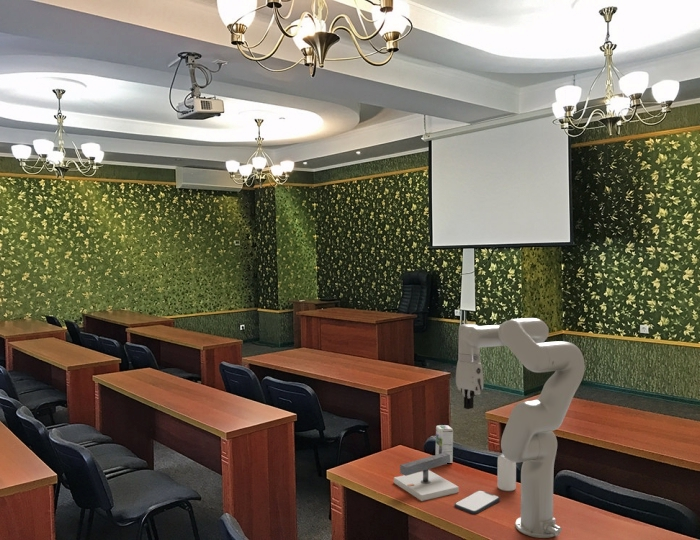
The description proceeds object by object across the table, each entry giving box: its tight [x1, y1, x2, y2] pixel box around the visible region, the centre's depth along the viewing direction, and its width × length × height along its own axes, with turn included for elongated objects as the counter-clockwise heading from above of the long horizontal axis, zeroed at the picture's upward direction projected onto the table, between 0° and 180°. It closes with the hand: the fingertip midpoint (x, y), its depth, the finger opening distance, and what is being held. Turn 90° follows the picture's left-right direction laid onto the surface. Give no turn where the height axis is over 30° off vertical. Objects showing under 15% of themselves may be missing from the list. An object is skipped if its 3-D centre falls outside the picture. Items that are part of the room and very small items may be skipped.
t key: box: [399, 453, 450, 483], centre depth 206 cm, size 22×3×8 cm, turn 126°
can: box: [497, 452, 517, 492], centre depth 206 cm, size 6×6×12 cm
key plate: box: [393, 469, 460, 502], centre depth 206 cm, size 18×16×2 cm
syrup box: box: [435, 424, 454, 464], centre depth 233 cm, size 6×6×14 cm
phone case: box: [454, 490, 501, 515], centre depth 193 cm, size 9×2×16 cm
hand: (468, 408), depth 206 cm, fingers closed
